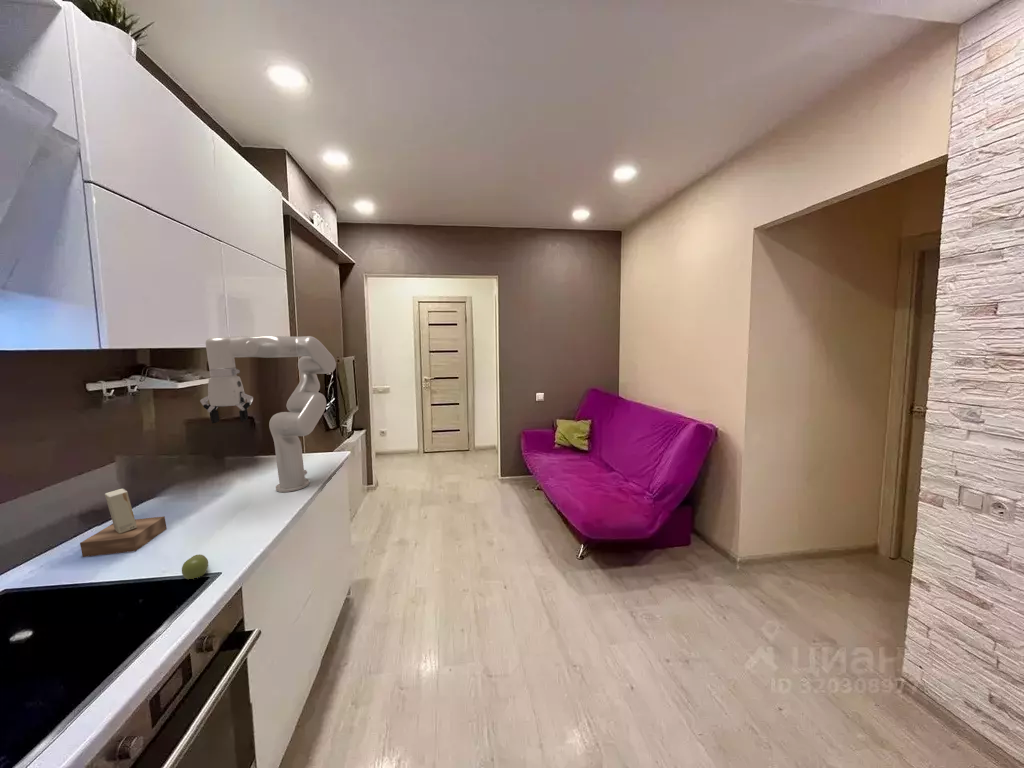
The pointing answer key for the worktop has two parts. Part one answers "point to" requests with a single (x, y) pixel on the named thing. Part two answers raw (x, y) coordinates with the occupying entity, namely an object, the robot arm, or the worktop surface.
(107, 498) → the skincare box
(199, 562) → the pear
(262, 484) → the worktop surface
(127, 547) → the walnut block
